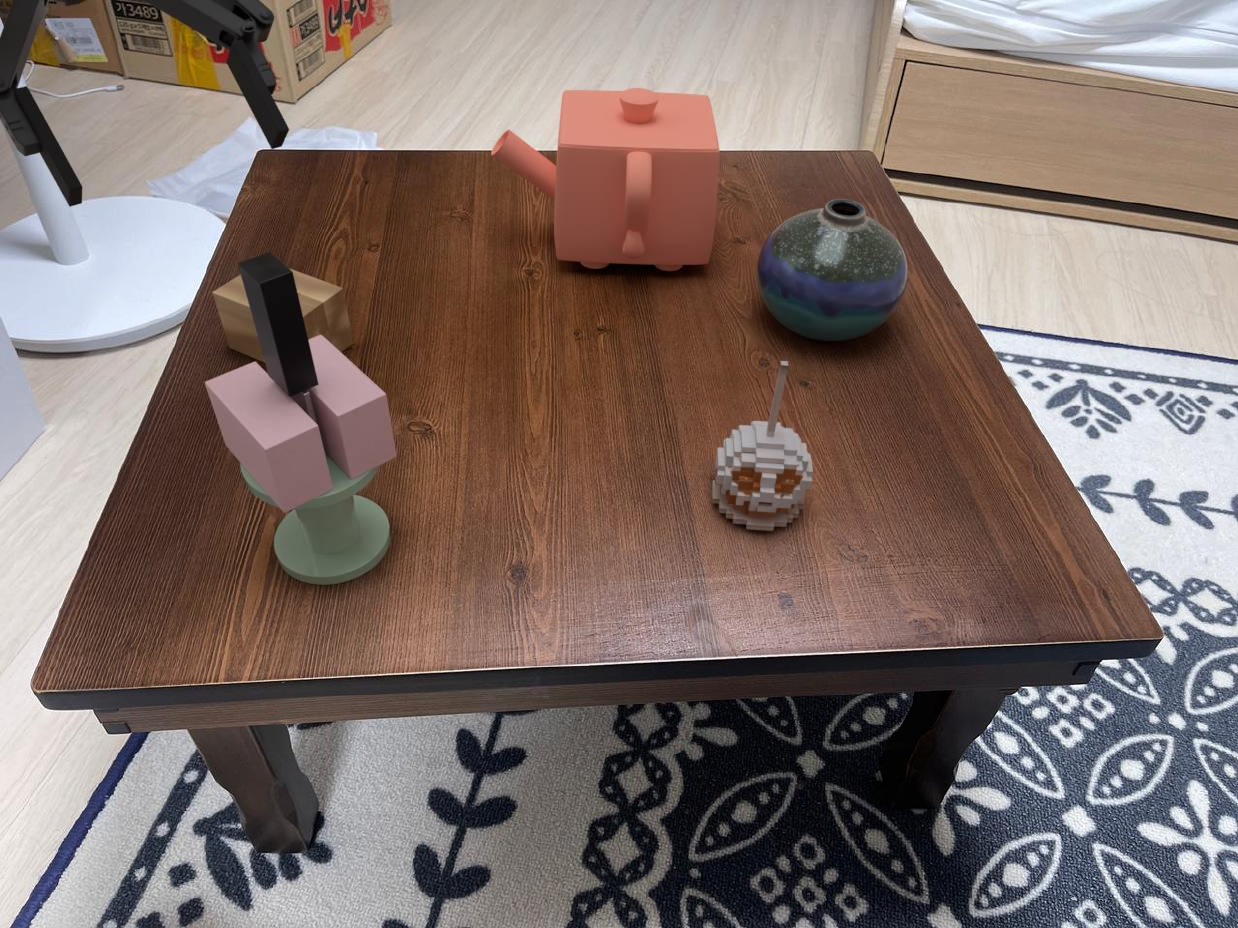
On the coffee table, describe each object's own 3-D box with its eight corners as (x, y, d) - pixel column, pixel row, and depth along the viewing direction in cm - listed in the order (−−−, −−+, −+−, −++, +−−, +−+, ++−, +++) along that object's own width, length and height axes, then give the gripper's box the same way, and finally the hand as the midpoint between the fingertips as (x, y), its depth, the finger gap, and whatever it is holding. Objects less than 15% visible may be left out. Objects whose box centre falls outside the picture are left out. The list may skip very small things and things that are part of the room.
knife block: (306, 380, 90) (292, 323, 86) (228, 348, 93) (211, 292, 89) (353, 343, 95) (343, 288, 90) (278, 314, 98) (264, 259, 93)
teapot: (487, 291, 103) (476, 134, 90) (503, 193, 119) (496, 49, 107) (713, 297, 104) (733, 143, 91) (698, 199, 120) (714, 57, 108)
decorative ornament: (712, 531, 78) (735, 392, 68) (710, 467, 84) (731, 329, 73) (805, 537, 78) (842, 399, 68) (797, 473, 84) (830, 336, 73)
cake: (284, 513, 64) (265, 449, 60) (225, 445, 69) (203, 381, 65) (397, 456, 69) (386, 393, 65) (334, 396, 73) (321, 333, 69)
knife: (310, 470, 67) (261, 285, 56) (286, 444, 69) (235, 260, 58) (337, 457, 68) (295, 273, 58) (313, 432, 70) (267, 249, 59)
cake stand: (308, 611, 70) (281, 521, 64) (247, 535, 76) (216, 444, 69) (421, 547, 76) (406, 457, 69) (356, 480, 81) (337, 390, 74)
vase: (903, 367, 96) (939, 253, 86) (753, 358, 96) (773, 243, 87) (880, 285, 107) (910, 176, 98) (746, 277, 107) (763, 167, 98)
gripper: (201, -129, 68) (340, 141, 70) (-207, -81, 55) (-20, 246, 58) (215, -206, 62) (367, 94, 64) (-243, -172, 49) (-31, 200, 51)
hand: (184, 167), depth 61 cm, fingers open, 13 cm apart
